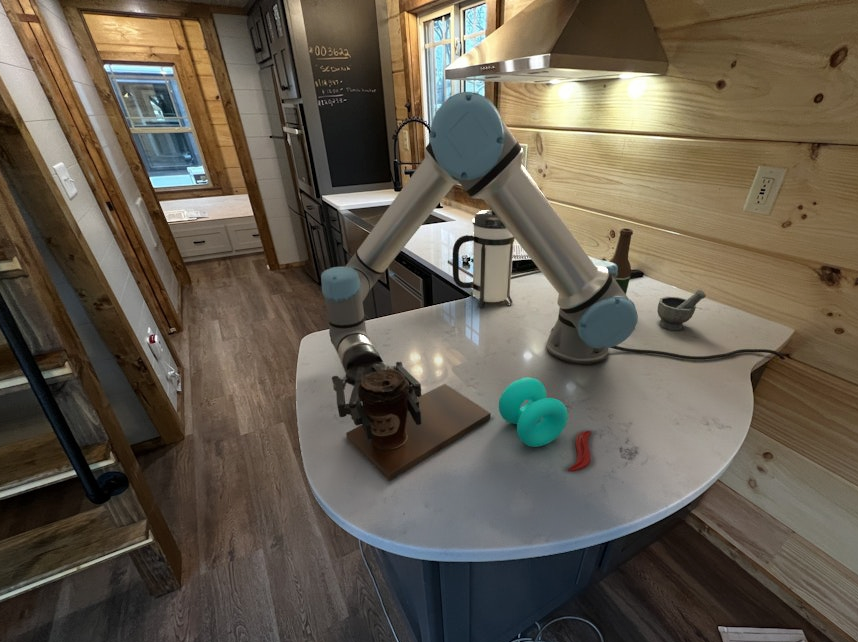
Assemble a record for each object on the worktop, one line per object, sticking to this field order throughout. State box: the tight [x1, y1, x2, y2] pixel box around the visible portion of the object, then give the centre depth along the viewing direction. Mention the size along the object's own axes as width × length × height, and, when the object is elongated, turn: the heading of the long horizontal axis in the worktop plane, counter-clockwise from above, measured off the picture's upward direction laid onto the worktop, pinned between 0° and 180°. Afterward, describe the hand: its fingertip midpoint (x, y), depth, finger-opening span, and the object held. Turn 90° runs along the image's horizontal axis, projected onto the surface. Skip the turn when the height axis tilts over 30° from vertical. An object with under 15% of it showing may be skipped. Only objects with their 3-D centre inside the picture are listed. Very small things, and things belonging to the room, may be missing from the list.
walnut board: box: [345, 383, 491, 481], centre depth 77 cm, size 24×14×2 cm, turn 133°
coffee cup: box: [358, 369, 409, 449], centre depth 69 cm, size 9×8×13 cm
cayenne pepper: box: [566, 430, 592, 472], centre depth 73 cm, size 12×5×2 cm, turn 142°
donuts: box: [498, 377, 569, 448], centre depth 75 cm, size 10×10×10 cm
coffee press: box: [452, 209, 516, 309], centre depth 123 cm, size 17×16×30 cm
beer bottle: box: [608, 228, 634, 295], centre depth 121 cm, size 8×8×24 cm
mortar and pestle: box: [657, 289, 707, 331], centre depth 114 cm, size 11×9×12 cm
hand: (394, 425), depth 66 cm, fingers closed on coffee cup, 8 cm apart
